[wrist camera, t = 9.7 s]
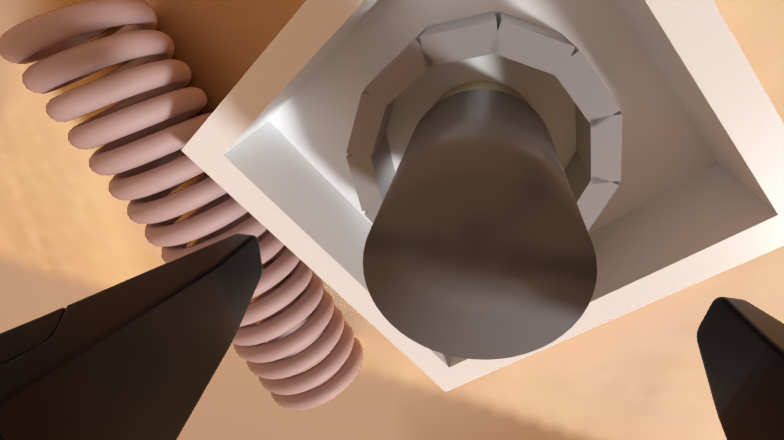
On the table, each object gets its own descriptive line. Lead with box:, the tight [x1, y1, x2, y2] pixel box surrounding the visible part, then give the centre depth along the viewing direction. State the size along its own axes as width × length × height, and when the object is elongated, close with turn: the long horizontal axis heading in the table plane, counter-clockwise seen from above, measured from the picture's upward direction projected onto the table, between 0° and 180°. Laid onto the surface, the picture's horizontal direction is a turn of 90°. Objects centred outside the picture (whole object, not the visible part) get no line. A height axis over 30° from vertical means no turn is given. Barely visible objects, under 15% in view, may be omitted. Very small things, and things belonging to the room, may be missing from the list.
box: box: [181, 0, 784, 392], centre depth 14 cm, size 13×13×4 cm
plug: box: [363, 81, 597, 360], centre depth 12 cm, size 4×4×8 cm
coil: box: [0, 0, 363, 410], centre depth 17 cm, size 5×5×18 cm
